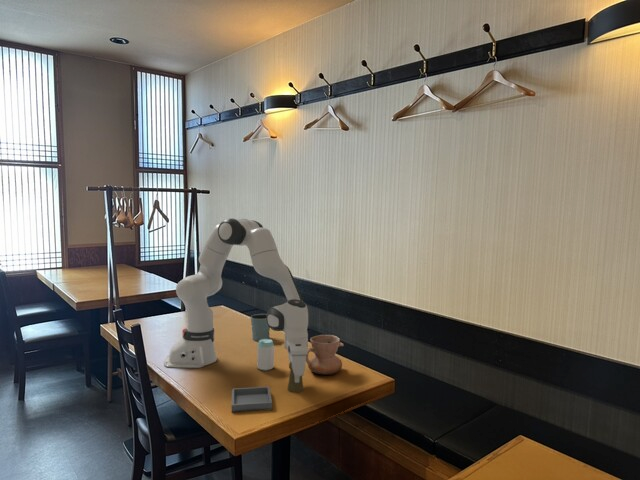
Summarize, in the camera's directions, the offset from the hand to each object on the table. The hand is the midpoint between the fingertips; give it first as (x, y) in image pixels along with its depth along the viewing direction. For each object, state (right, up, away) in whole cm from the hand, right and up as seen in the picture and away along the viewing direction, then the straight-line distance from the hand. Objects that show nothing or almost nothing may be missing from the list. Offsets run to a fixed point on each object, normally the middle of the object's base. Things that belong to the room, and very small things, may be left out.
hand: (295, 378), depth 170 cm
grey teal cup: (-22, +1, +61) cm, 65 cm away
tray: (-15, -5, -12) cm, 20 cm away
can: (-14, -2, +21) cm, 25 cm away
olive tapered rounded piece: (0, -4, 0) cm, 4 cm away
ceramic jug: (+11, -3, +19) cm, 22 cm away
